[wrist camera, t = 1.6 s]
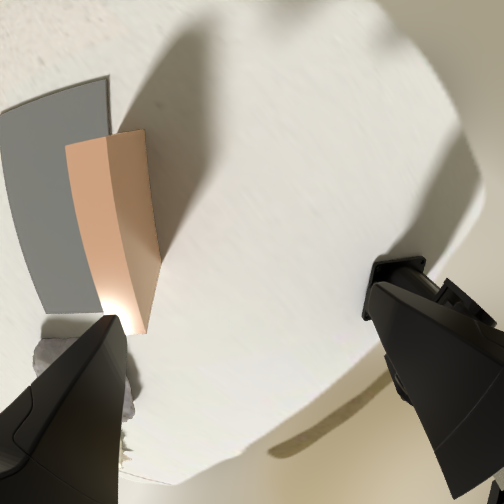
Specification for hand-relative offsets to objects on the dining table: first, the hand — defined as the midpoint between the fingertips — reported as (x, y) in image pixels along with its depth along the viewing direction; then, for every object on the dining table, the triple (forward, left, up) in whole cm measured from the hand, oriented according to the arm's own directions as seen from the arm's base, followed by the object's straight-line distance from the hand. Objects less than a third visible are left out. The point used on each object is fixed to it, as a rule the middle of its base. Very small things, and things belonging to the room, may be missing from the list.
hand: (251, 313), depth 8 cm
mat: (+12, 0, -13) cm, 18 cm away
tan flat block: (+6, 0, -13) cm, 15 cm away
